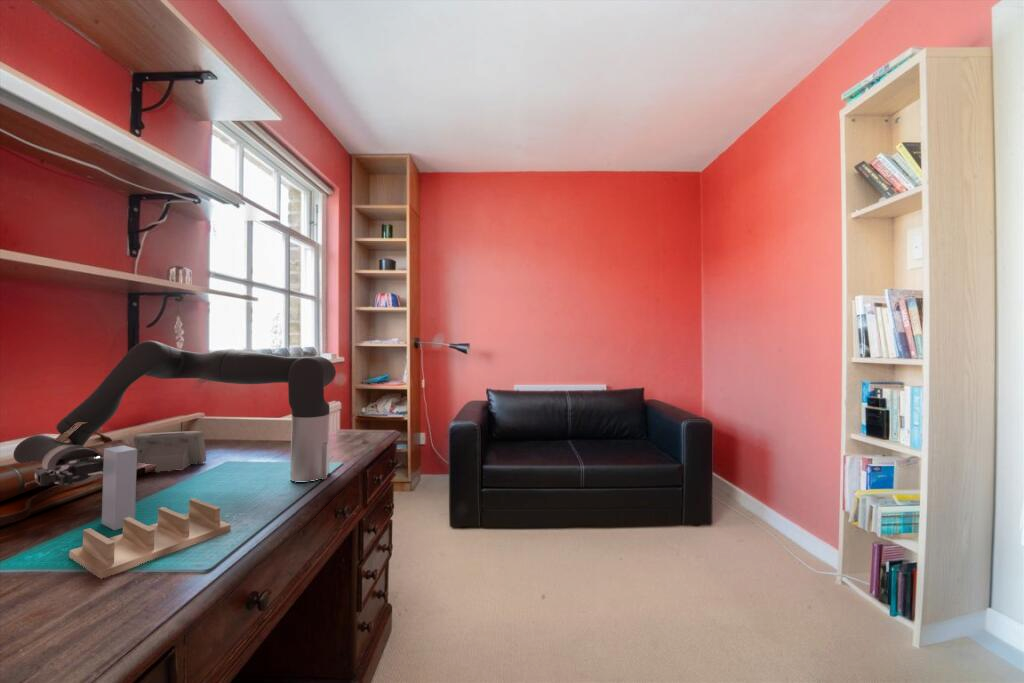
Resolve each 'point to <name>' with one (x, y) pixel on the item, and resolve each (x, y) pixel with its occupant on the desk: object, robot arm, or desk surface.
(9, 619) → the desk surface
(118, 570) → the rack
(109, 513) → the grey tall block
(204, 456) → the grey basket
